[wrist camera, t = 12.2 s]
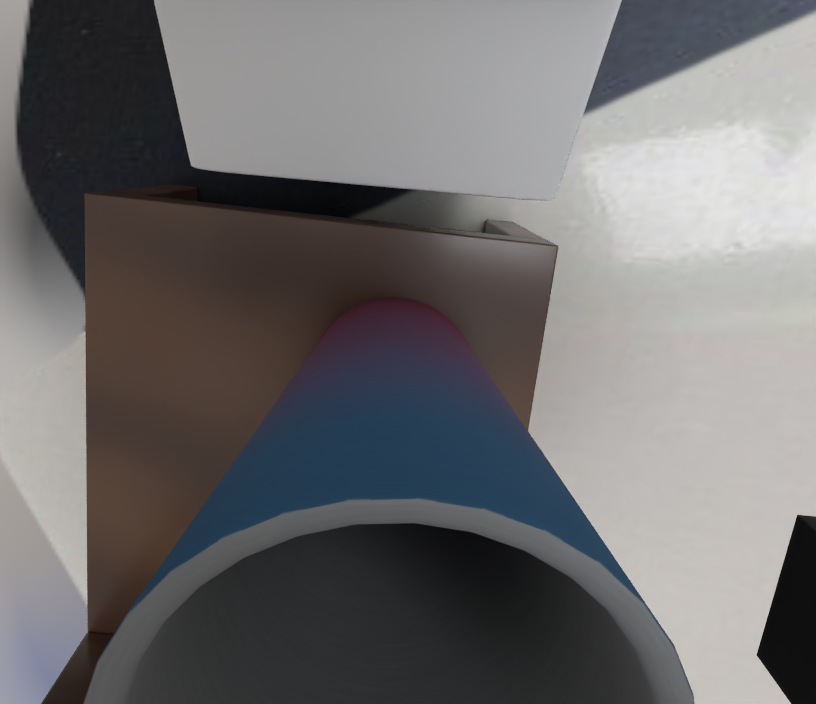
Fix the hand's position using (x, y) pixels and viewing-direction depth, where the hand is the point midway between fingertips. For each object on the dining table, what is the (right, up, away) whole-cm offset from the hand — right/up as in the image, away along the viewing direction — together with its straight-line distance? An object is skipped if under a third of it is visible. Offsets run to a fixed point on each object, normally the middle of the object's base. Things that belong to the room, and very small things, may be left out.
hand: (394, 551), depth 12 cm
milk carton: (0, +14, +16) cm, 21 cm away
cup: (0, +3, +11) cm, 11 cm away
